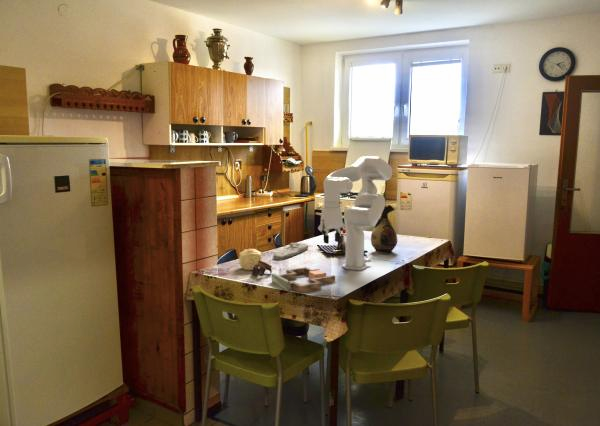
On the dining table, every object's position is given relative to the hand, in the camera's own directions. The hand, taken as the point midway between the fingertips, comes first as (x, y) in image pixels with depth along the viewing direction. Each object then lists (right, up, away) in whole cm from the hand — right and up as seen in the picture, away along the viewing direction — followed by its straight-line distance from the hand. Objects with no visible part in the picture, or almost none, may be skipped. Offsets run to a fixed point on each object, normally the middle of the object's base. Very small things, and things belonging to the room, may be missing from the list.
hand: (331, 242), depth 235 cm
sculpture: (-41, -15, +19) cm, 48 cm away
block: (-7, -18, -1) cm, 19 cm away
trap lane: (-13, -18, -5) cm, 23 cm away
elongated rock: (-20, -11, +53) cm, 58 cm away
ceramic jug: (+33, -10, +56) cm, 66 cm away
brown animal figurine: (-34, -17, +6) cm, 39 cm away
